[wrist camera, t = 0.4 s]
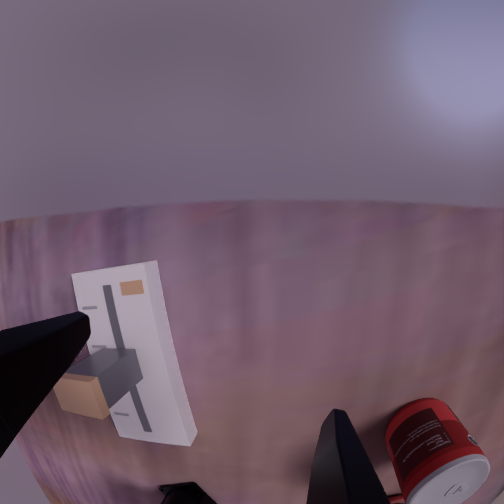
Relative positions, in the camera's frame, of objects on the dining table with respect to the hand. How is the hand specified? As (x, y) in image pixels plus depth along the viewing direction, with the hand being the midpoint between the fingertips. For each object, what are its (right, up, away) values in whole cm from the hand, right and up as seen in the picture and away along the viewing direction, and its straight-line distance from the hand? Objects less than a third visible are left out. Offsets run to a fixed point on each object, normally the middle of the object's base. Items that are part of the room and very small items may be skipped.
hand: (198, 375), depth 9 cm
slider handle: (-10, -6, +16) cm, 20 cm away
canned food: (+19, -14, +15) cm, 28 cm away
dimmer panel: (-10, -7, +19) cm, 22 cm away
